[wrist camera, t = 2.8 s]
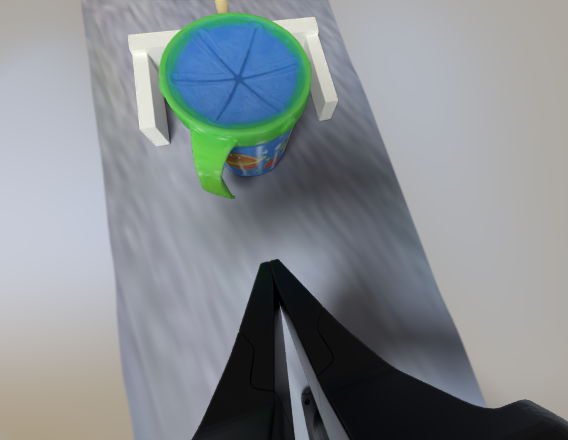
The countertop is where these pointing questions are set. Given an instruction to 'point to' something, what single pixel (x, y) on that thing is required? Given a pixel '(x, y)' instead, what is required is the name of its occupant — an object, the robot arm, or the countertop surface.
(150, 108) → the centring cradle
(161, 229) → the countertop surface
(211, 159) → the snack cup
